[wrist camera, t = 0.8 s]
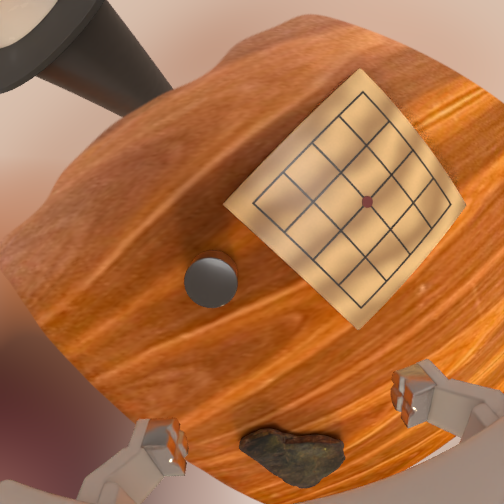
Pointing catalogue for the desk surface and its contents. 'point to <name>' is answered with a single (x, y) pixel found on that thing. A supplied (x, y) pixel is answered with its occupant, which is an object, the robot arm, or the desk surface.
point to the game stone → (211, 279)
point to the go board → (351, 199)
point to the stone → (294, 455)
